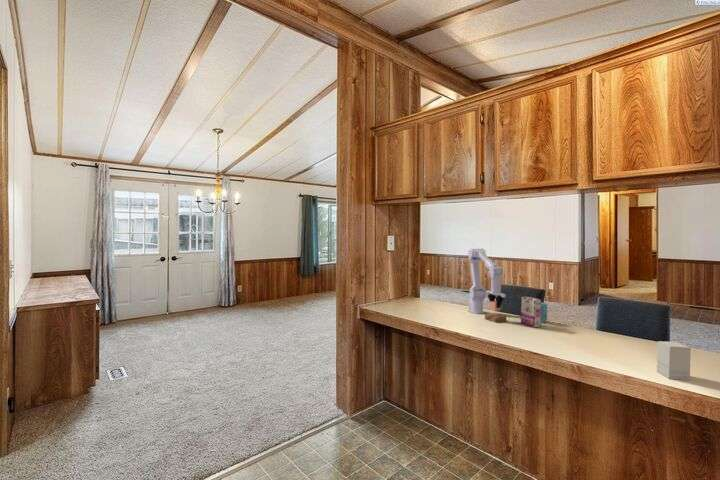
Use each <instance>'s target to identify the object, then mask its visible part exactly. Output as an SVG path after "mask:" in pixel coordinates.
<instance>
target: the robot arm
mask: <svg viewBox="0 0 720 480" xmlns="http://www.w3.org/2000/svg"><path fill="white" fill-rule="evenodd" d="M467 254H468V261H469V262H470V269H471V278H472V286H471V287H469V298H470V299H469V301H468V310H467V311H468V312H470V313H474V314H477V315H478V314H487V313H486V311H484V300H485V299H486V297H487V298H488V300H489V302H490V301H496V303H497V308H500V306H502V303H503V301H504V299H505V298H506V295H507V294H506V293H503V292H501V291H502V289H501V287H502V275H503V274H504V269H503V267H502V266H501V265H497V263H496V262H495V261H494V260H493V259H490V258H489V257H488V256H487V254H486V250H485V249H484V248H470V249H469V250H468V253H467ZM480 261H482V262H484V265H485V267H486V268H487V269H488V272H489V277H490V290H486V289H485V286H483V285H482V284H481V274H480V267H479V263H480Z"/></svg>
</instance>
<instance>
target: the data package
mask: <svg viewBox="0 0 720 480" xmlns="http://www.w3.org/2000/svg"><path fill="white" fill-rule="evenodd" d="M547 321H548V304H547V303H546V302H542V301H541V324H543V323H546V322H547Z"/></svg>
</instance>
